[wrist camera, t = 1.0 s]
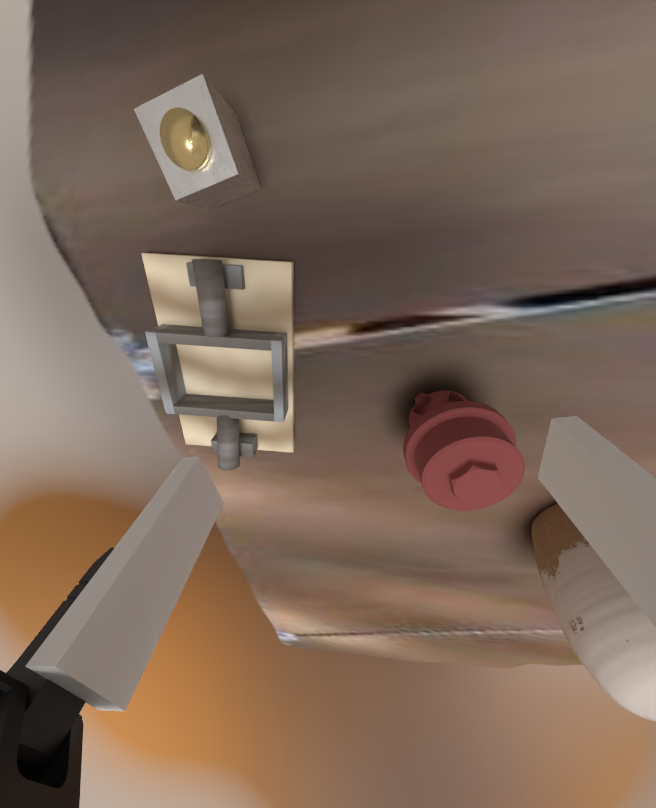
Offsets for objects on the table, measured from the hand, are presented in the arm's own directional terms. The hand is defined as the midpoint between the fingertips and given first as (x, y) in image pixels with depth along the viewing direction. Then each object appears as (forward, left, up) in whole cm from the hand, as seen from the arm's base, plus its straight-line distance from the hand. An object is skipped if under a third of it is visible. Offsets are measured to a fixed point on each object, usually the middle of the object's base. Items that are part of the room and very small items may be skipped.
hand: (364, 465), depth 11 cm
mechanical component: (+9, +11, -22) cm, 26 cm away
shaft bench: (+5, -13, -22) cm, 26 cm away
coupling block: (-13, -12, -22) cm, 28 cm away
